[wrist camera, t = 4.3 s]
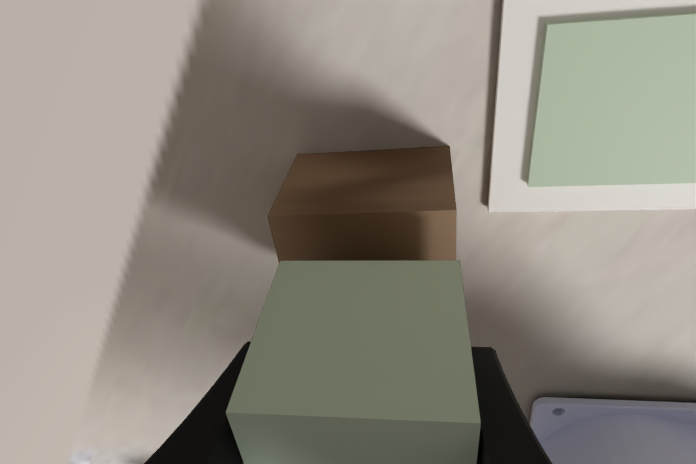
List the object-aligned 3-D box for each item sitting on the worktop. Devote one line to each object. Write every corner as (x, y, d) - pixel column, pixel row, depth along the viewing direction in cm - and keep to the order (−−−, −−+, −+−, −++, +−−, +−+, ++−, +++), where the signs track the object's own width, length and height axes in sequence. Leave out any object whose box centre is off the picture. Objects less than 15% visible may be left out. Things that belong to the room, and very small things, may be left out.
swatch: (807, -49, 12) (824, -46, 11) (714, 203, 16) (724, 213, 15) (503, -22, 13) (506, -19, 12) (487, 207, 17) (489, 217, 16)
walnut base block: (449, 144, 16) (456, 210, 13) (449, 267, 19) (455, 347, 15) (298, 152, 17) (267, 216, 13) (320, 269, 19) (299, 345, 16)
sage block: (459, 260, 12) (480, 423, 8) (453, 381, 15) (467, 548, 11) (280, 260, 13) (225, 412, 9) (303, 377, 15) (269, 533, 11)
